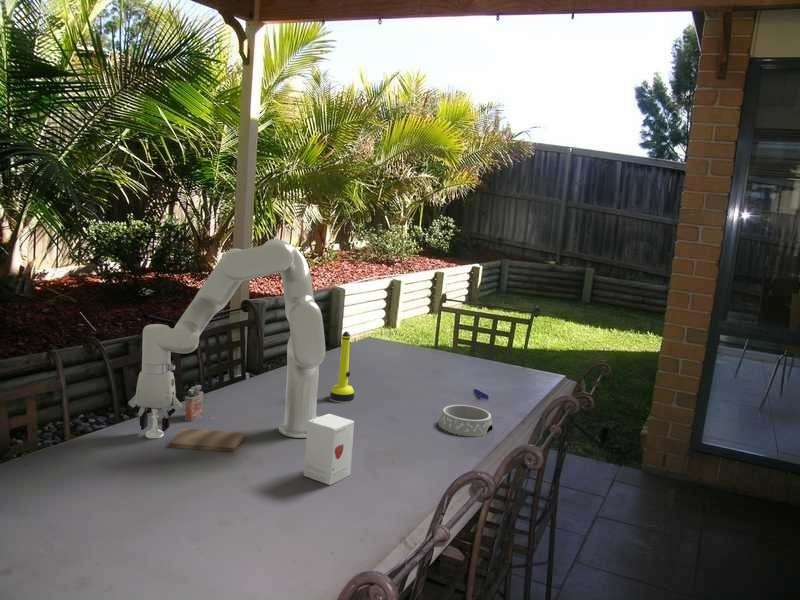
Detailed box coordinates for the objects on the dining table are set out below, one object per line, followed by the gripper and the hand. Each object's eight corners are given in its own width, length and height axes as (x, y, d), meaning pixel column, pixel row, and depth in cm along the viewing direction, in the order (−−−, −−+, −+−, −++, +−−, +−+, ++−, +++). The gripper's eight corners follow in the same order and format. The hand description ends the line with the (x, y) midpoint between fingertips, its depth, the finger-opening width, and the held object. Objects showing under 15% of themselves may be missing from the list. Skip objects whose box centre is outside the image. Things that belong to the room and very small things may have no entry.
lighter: (192, 422, 198) (193, 391, 197) (182, 420, 199) (183, 389, 198) (205, 414, 206) (206, 384, 205) (195, 413, 207) (196, 383, 206)
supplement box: (330, 486, 162) (333, 429, 159) (302, 476, 166) (306, 420, 164) (351, 475, 169) (355, 420, 167) (324, 465, 174) (328, 412, 172)
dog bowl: (498, 425, 220) (499, 410, 219) (481, 441, 203) (482, 424, 202) (451, 415, 227) (452, 400, 226) (431, 429, 210) (432, 413, 209)
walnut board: (244, 436, 190) (244, 432, 190) (234, 452, 178) (234, 447, 178) (183, 432, 190) (183, 428, 190) (169, 447, 178) (169, 443, 178)
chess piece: (148, 431, 188) (149, 398, 187) (165, 432, 188) (166, 399, 187) (143, 437, 183) (143, 404, 182) (160, 438, 184) (161, 404, 182)
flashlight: (329, 331, 228) (352, 335, 225) (341, 328, 236) (363, 331, 233) (325, 399, 232) (347, 404, 228) (336, 393, 240) (358, 398, 237)
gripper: (190, 367, 187) (188, 427, 189) (131, 362, 187) (130, 422, 189) (182, 373, 179) (180, 436, 182) (120, 369, 179) (119, 431, 182)
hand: (154, 428), depth 186 cm, fingers open, 5 cm apart
